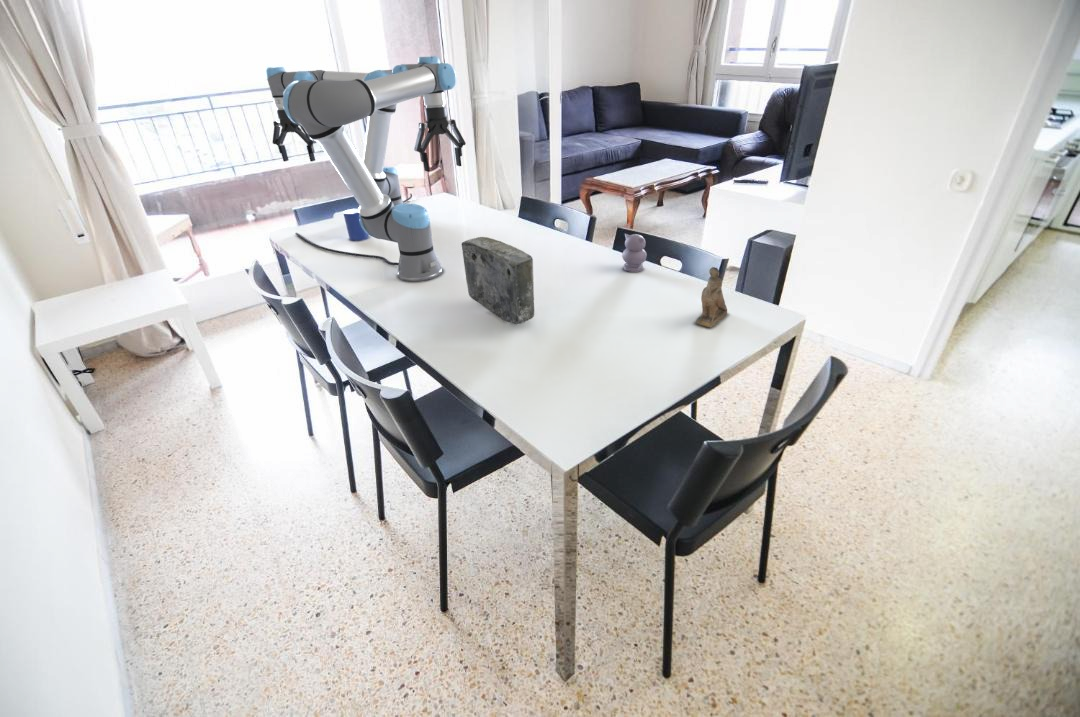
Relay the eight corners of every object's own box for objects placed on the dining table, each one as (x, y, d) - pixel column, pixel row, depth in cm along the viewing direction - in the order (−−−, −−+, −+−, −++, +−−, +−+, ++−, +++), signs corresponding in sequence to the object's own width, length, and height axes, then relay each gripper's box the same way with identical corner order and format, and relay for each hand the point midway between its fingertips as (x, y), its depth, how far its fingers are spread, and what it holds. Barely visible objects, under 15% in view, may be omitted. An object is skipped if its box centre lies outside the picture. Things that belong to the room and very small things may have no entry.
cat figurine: (650, 268, 173) (653, 234, 167) (637, 274, 168) (640, 240, 162) (629, 262, 178) (631, 229, 172) (616, 269, 173) (618, 235, 167)
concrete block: (541, 325, 139) (539, 257, 129) (515, 335, 135) (510, 265, 124) (492, 295, 158) (486, 233, 147) (468, 303, 153) (460, 240, 143)
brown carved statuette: (709, 335, 136) (713, 280, 124) (691, 329, 139) (693, 274, 128) (730, 313, 142) (736, 258, 130) (712, 307, 145) (716, 253, 133)
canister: (368, 239, 212) (362, 212, 206) (348, 241, 210) (342, 214, 204) (369, 234, 218) (363, 207, 212) (350, 236, 217) (344, 209, 211)
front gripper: (460, 103, 187) (467, 162, 199) (398, 108, 175) (408, 171, 186) (470, 103, 182) (476, 164, 193) (406, 110, 170) (417, 174, 181)
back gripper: (254, 109, 212) (269, 162, 223) (306, 108, 207) (319, 162, 218) (265, 108, 218) (280, 159, 229) (316, 107, 213) (328, 159, 225)
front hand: (443, 168), depth 190 cm, fingers open, 13 cm apart
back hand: (299, 161), depth 224 cm, fingers open, 13 cm apart
